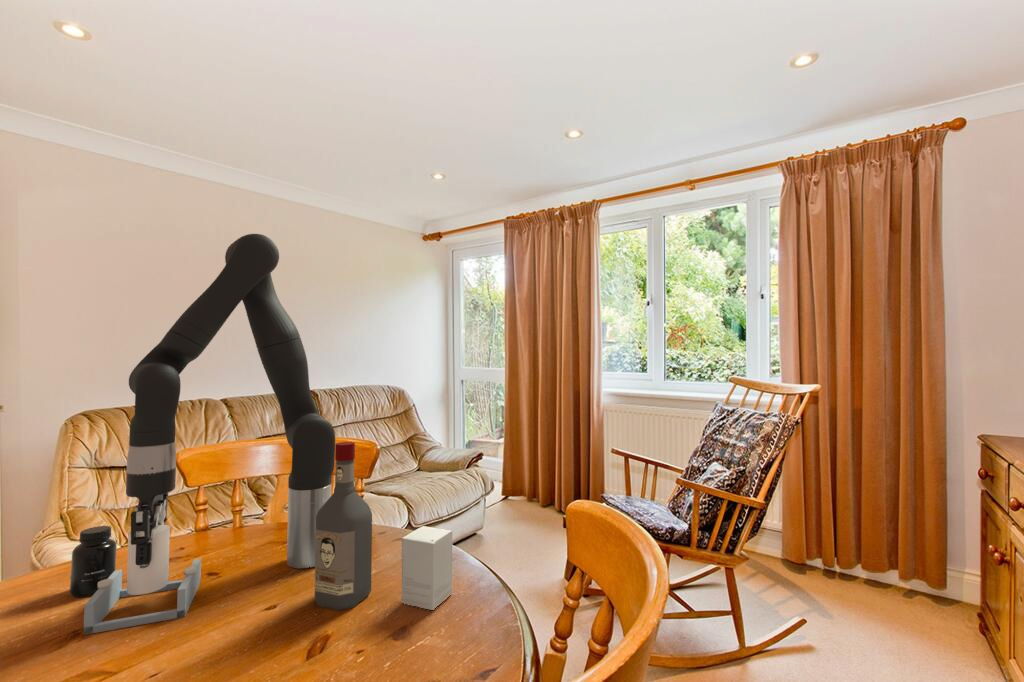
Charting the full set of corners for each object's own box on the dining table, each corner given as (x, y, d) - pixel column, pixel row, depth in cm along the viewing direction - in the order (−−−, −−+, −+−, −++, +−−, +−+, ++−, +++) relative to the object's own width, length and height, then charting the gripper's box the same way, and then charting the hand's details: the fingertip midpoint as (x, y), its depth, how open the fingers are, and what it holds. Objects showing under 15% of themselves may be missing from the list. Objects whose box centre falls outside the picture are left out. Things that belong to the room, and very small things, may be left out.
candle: (122, 598, 86) (124, 514, 86) (131, 582, 92) (133, 504, 92) (165, 590, 89) (167, 509, 89) (171, 576, 95) (173, 499, 95)
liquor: (339, 583, 99) (341, 438, 100) (377, 590, 96) (378, 441, 97) (307, 605, 91) (309, 445, 92) (347, 613, 88) (349, 449, 89)
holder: (202, 582, 100) (203, 554, 100) (187, 616, 87) (188, 583, 87) (111, 596, 93) (112, 566, 94) (80, 635, 81) (81, 600, 81)
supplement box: (453, 594, 95) (454, 530, 95) (432, 613, 88) (432, 543, 88) (422, 587, 98) (423, 524, 98) (399, 604, 91) (400, 537, 92)
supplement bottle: (88, 600, 92) (90, 537, 93) (60, 596, 94) (62, 534, 94) (124, 583, 99) (125, 525, 99) (97, 580, 100) (99, 522, 101)
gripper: (165, 474, 86) (162, 568, 85) (184, 458, 99) (181, 540, 98) (113, 478, 83) (110, 576, 82) (139, 461, 96) (137, 545, 96)
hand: (149, 556), depth 90 cm, fingers closed on candle, 6 cm apart
